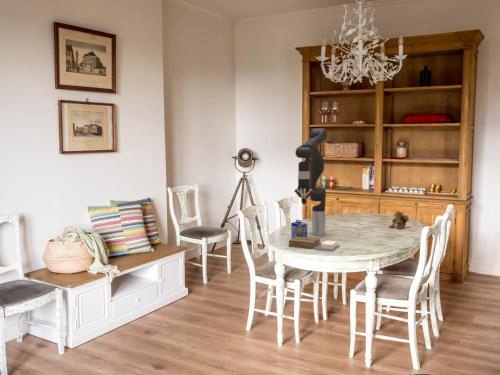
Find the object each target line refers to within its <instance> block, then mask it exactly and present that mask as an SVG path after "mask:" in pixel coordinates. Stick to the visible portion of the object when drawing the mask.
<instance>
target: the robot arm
mask: <svg viewBox="0 0 500 375" xmlns="http://www.w3.org/2000/svg"><path fill="white" fill-rule="evenodd" d="M327 131H328V130H327V129H325V128H323V127H317V128H311V129H310V134H309V135H310V137H309V139H307V141H306V142H305V143H303V144H301V145H299V146H297V148H296V149H295V153H294V154H295V156H296V157H297V158H299V159H304V160H302V161H299V162H298V172H297V188H296V189H294V192H295V194H296V195H297V197H299V198H301V204H302V205H306V204H307V199H308V198H309V200H310V201H311V202H319V204H316V205H313V206H312V208H311V235H312V236H321V237H322V236H326V200H327V199H326V197H327V190H326V188H320V187H316V185H317V182H318V180H319V179H320V177H321V176H322V175H323V173H324V170H325V160H324V157H323V156H322V154H321V152H320V150H319V148H318V146H319V145H321V144H323V143H324V142H325V141H326V140H327V138H328V132H327Z"/></svg>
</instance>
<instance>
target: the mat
mask: <svg viewBox="0 0 500 375" xmlns="http://www.w3.org/2000/svg"><path fill="white" fill-rule="evenodd" d="M322 243H323V242H321V243H320V244H319V245H317V246H316V247H314V248H313V249H312V250H315V251H326V252H334V251H336V250H337V249H338V248H339V247H341V245H339V244H337V246H336V247H335V248H334V249H332V250H331V249H322V248H321V244H322Z"/></svg>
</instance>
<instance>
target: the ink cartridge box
mask: <svg viewBox="0 0 500 375" xmlns="http://www.w3.org/2000/svg"><path fill="white" fill-rule="evenodd" d="M290 228H291V239H292V238H294V237H296V236H300V237H308V222H302V221H301V220H300V219H295V221H293V222H291V227H290ZM291 239H290V240H291Z"/></svg>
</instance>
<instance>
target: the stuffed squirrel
mask: <svg viewBox="0 0 500 375" xmlns="http://www.w3.org/2000/svg"><path fill="white" fill-rule="evenodd" d="M392 217H393V218H392V219H391V222H392V225H388V228H389V229H396V230H401V231H402V230H404V228H405V227H406V224H407V222H409V218H410V217H409V216H408V215H407V214H404V212H401V211H399V210H396V211H395V213H394V214H393V215H392Z"/></svg>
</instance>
